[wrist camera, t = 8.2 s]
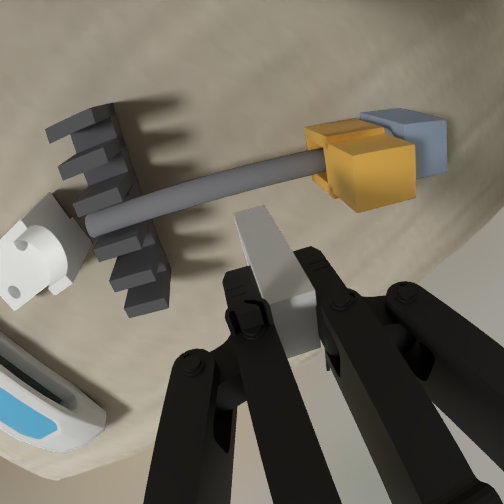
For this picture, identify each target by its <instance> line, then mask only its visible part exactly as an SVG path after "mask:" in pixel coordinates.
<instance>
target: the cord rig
mask: <svg viewBox="0 0 504 504" xmlns="http://www.w3.org/2000/svg"><path fill="white" fill-rule="evenodd" d="M360 115H361V120H362V121H365V122H369V123H372V124H375V125H379V126H382V127H384V133H385V134H388V135H391V136H394V137H396V138H399V139H402V140H405V141H407V142H410V143H413V144H415V158H416V179H420V178H424V177H428V176H433V175H437V174H442V173H446V172H447V126H446V120H445V119H442V118H438V117H434V116H430V115H426V114H422V113H418V112H414V111H410V110H405V109H401V108H397V109H388V110H379V111H371V112H363V113H360ZM45 131H46V134H47V137H48V140H49V143H52V142H54V141H56V140H58V139H61V138H63V137H65V136H67V135H69V134H70V135H71V138H72V141H73V144H74V147H75V150H76V153H77V154H75V155H74V156H72V157H71V158H69V159H68V160H66V161H65V162H64V163H62V164H61V165H59V166H58V169H59V171H60V174H61V177H62V179H63V181H64V180H66V179H68V178H71V177H73V176H76V175H78V174H80V173H83V172H84V175H85V178H86V180H87V183H88V185H89V186H88V187H87V188H86V190H85V191H84V192H83V193H82V194H81V195H80V196H79V197H78V198H77V200H76V201H75V202H74V203H73V206H74V209H75V211H76V213H77V216H78V218H79V217H81V216H84V215H86V217H85V225H86V229H87V231H88V233H89V235H90V236H91V237H92V238H94V237H97V236H100V235H101V236H100V238H99V240H98V242H97V243H96V245H95V247H94V249H93V250H94V253H95V255H96V257H97V259H98V261H99V262H101V261H104V260H108V259H111V258H114V257H117V256H118V257H117V260H116V263H115V265H114V268H113V271H112V274H111V277H110V280H109V282H110V284H111V286H112V288H113V290H114V291H115V292H118V291H121V290H125V289H128V293H127V297H126V301H125V306H124V310H125V311H126V313H127V315H128V316H129V318H132V317H136V316H140V315H144V314H148V313H152V312H156V311H160V310H163V309H167V308H169V296H170V280H171V267H170V265H169V263H168V260H167V258H166V255H165V253H164V250H163V248H162V245H161V243H160V240H159V238H158V235H157V233H156V230H155V227H154V225H153V222H152V220H151V219H152V218H155V217H159V216H162V215H165V214H168V213H172V212H175V211H178V210H182V209H185V208H189V207H192V206H195V205H199V204H202V203H206V202H209V201H213V200H216V199H220V198H224V197H227V196H231V195H235V194H238V193H242V192H246V191H249V190H253V189H257V188H261V187H265V186H269V185H273V184H277V183H281V182H285V181H289V180H293V179H297V178H301V177H305V176H310V175H314V174H318V173H323V172H327V171H326V163H325V156H324V149H323V148H319V149H314V150H309V151H304V152H300V153H295V154H291V155H286V156H282V157H278V158H274V159H269V160H265V161H261V162H257V163H253V164H249V165H245V166H241V167H237V168H234V169H230V170H226V171H222V172H219V173H215V174H212V175H208V176H204V177H201V178H197V179H194V180H191V181H187V182H184V183H180V184H177V185H174V186H171V187H167V188H164V189H161V190H158V191H155V192H152V193H148V194H145V195H142V192H141V190H140V187H139V184H138V181H137V178H136V175H135V172H134V170H133V167H132V164H131V161H130V158H129V155H128V152H127V149H126V145H125V142H124V139H123V136H122V133H121V130H120V126H119V123H118V120H117V117H116V113H115V110H114V107H113V103H109V104H105V105H100V106H96V107H92V108H89V109H87V110H85V111H82V112H80V113H78V114H76V115H73V116H71V117H69V118H67V119H65V120H63V121H61V122H59V123H57V124H55V125H53V126H51V127H49V128H47V129H45ZM89 213H90V214H89ZM87 214H88V215H87Z"/></svg>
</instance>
